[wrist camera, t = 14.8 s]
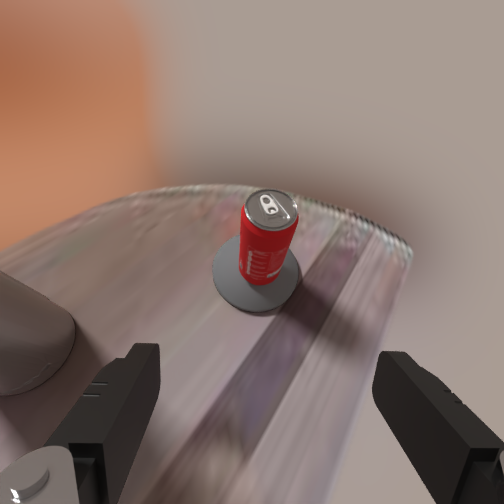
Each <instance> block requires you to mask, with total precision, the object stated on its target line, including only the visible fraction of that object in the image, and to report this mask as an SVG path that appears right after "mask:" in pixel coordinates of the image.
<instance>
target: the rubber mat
mask: <svg viewBox="0 0 504 504" xmlns="http://www.w3.org/2000/svg"><path fill="white" fill-rule="evenodd" d="M239 247H240V235H238V236H235V237H233V238H231V239H230V240H228V241H227V242H226V243H224V244H223V245H222V246H221V248H220V249H219V250H218V252H217V254H216V256H215V258H214V261H213V279H214V283H215V286H216V288H217V290H218V292H219V293H220V295H221V296H222V297H223V298H224V299H225V300H226V301H227V302H228V303H230V304H231V305H233V306H234V307H236V308H238V309H241V310H244V311H249V312H264V311H269V310H272V309H274V308H277V307H279V306H280V305H282V304H283V303H284V302H285V301H286V300H287V299H288V298H289V297H290V296H291V294H292V293H293V291H294V289H295V287H296V285H297V281H298V265H297V261H296V259H295V257H294V255H293V253H292V252H291V250H290V249H289V248H288V251H287V254H286V257H285V259H284V262H283V265H282V267H281V270H280V273H279V275H278V277H277V278H276V279H275V280H274V281H273V282H271V283H269V284H266V285H262V286H257V285H253V284H251V283H249V282H248V281H247V280H245V279H244V278H243V276H242V275H241V273H240V271H239Z"/></svg>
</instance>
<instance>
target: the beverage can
mask: <svg viewBox="0 0 504 504" xmlns="http://www.w3.org/2000/svg"><path fill="white" fill-rule="evenodd" d="M298 218H299V217H298V208H297V205H296V203H295V201H294V200H293V199H292V198H291V197H290V196H289V195H288V194H286V193H285V192H282V191H280V190H276V189H261V190H258V191H256V192H254V193H252V194H251V195H250V196H249V197H248V198H247V200H246V201H245V204H244V205H243V207H242V210H241V227H240V247H239V271H240V273H241V275H242V276H243V278H244V279H245V280H247V281H248V282H249V283H251V284H253V285H257V286H262V285H266V284H269V283H271V282H273V281H274V280H275V279H276V278H277V277H278V275H279V273H280V270H281V267H282V265H283V262H284V259H285V257H286V254H287V251H288V248H289V246H290V243H291V240H292V238H293V235H294V232H295V230H296V227H297V224H298Z"/></svg>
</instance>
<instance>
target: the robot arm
mask: <svg viewBox="0 0 504 504" xmlns="http://www.w3.org/2000/svg"><path fill="white" fill-rule="evenodd" d="M74 340H75V325H74V321H73V319H72V317H71V315H70V314H69V313H68V312H67V311H66V310H65V309H63V308H62V307H60V306H59V305H57V304H55V303H53V302H51V301H50V300H48V299H47V298H46V296H44V295H42V294H41V293H39V292H37V291H35V290H34V289H32V288H30V287H28V286H26V285H25V284H23V283H21V282H19V281H18V280H16V279H14V278H12V277H11V276H9V275H7V274H5V273H4V272H2V271H0V395H15V394H20V393H23V392H26V391H29V390H31V389H33V388H35V387H37V386H39V385H41V384H42V383H43V382H45V381H46V380H47V379H49V378H50V377H51V376H52V375H53V374H54V373H55V372H56V371H57V370H58V369H59V368H60V367H61V366H62V364H63V363H64V362H65V360H66V359H67V357H68V355H69V353H70V351H71V349H72V346H73V343H74ZM160 381H161V379H160V349H159V345H158V344H153V343H135V344H134V345H133V346H132V348H131V349H130V351H129V352H128V354H127V355H126V357H125V358H116V359H115V360H113V361H112V362H110V363H109V364H108V365H106V366H105V367H104V368H102V369H101V371H100V372H99V373H98V375H97V376H96V377H95V379H94V380H93V381H92V384H91V385H89V387H88V388H87V389H86V390H85V392H84V393H83V396H81V397H80V398H79V400H78V401H77V402H76V404H75V405H74V406H73V408H72V409H71V410H70V412H69V413H68V414H67V416H66V417H65V418H64V420H63V421H62V422H61V424H60V425H59V426H58V428H57V429H56V430H55V432H54V433H53V434H52V436H51V437H50V438H49V440H48V441H47V442H46V444H45V445H44V446H43V447H42V448H39V449H36V450H34V451H32V452H29V453H28V454H26V455H24V456H22V457H20V458H19V459H17V460H16V461H14V462H13V463H12V464H10V465H9V466H8V467H7V468H5V469H4V470H3V471H2V472H1V473H0V504H117V502H118V500H119V497H120V495H121V492H122V489H123V487H124V484H125V482H126V479H127V477H128V474H129V471H130V469H131V466H132V464H133V461H134V459H135V456H136V453H137V451H138V448H139V446H140V443H141V441H142V438H143V435H144V433H145V430H146V428H147V425H148V422H149V420H150V417H151V415H152V412H153V410H154V407H155V404H156V402H157V399H158V395H159V390H160ZM372 394H373V398H374V401H375V404H376V406H377V408H378V409H379V411H380V412H381V414H382V416H383V417H384V419H385V420H386V422H387V424H388V426H389V427H390V429H391V430H392V432H393V434H394V435H395V437H396V439H397V440H398V442H399V443H400V445H401V447H402V448H403V450H404V452H405V453H406V455H407V456H408V458H409V460H410V461H411V463H412V465H413V466H414V468H415V469H416V471H417V473H418V475H419V476H420V478H421V480H422V481H423V483H424V484H425V486H426V488H427V489H428V491H429V493H430V494H431V496H432V498H433V499H434V501H435V502H436V504H504V442H503V441H502V440H501V439H500V438H499V437H498V436H497V435H496V434H495V433H494V432H493V431H492V430H491V429H490V428H488V426H487V425H485V423H484V422H482V421H481V420H480V419H479V418H478V417H477V416H476V415H475V414H474V413H473V412H472V411H471V410H470V409H469V408H468V407H467V406H466V405H465V404H463V403H462V401H461V400H460V399H459V398H458V397H457V396H456V395H455V394H454V393H451V390H450V389H449V388H448V387H447V386H446V385H445V384H444V383H443V382H442V381H441V380H440V379H439V378H438V377H436V376H435V375H433V374H432V373H430V372H428V371H427V370H425V369H424V368H422V367H420V366H419V365H418V364H417V363H416V362H415V361H414V360H413V359H412V358H411V357H410V356H409V355H408V354H407V353H405V352H398V351H382V352H381V353H380V354H379V357H378V362H377V366H376V371H375V375H374V380H373V385H372Z"/></svg>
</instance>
